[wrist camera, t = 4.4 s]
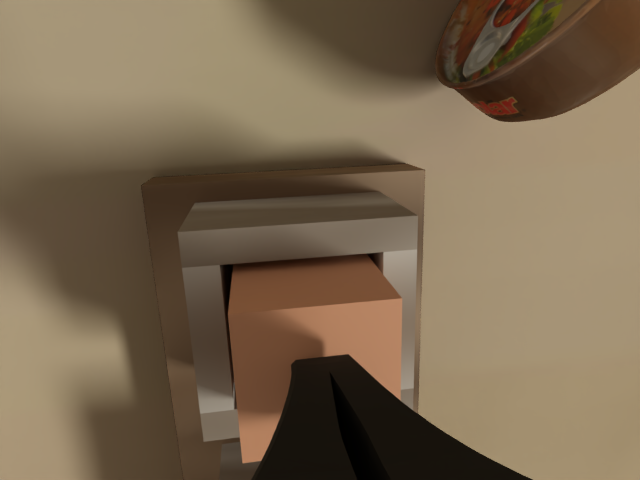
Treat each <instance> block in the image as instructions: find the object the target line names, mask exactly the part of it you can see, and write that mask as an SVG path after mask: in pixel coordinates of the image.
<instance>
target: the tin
mask: <svg viewBox="0 0 640 480" xmlns="http://www.w3.org/2000/svg"><path fill="white" fill-rule="evenodd" d="M435 69H436V75H437V77H438V79H439V80H440V82H441V83H442V84H444V85H445V86H447V87H449V88H453V89H455V90H456V91H457V92H458V93H460V94H461V95H462V96H463V97H464V98H466V99H467V100H468V101H469V102H470V103H471V104H473V105H474V106H475V107H476V108H478V109H479V110H480V111H482V112H483V113H485V114H486V115H488V116H489V117H491V118H493V119H496V120H499V121H504V122H521V121H529V120H537V119H545V118H549V117H553V116H557V115H560V114H563V113H565V112H567V111H570V110H572V109H574V108H576V107H579V106H581V105H583V104H585V103H587V102H589V101H590V100H592V99H594V98H595V97H597V96H599V95H601V94H602V93H604V92H606V91H607V90H609V89H610V88H612V87H614V86H615V85H617V84H618V83H620V82H621V81H623V80H624V79H626V78H627V77H628V76H630V75H631V74H633V73H634V72H635V71H637V70H638V69H640V0H461V1H460V2H459V4H458V6H457V7H456V9H455V11H454V13H453V14H452V16H451V19H450V21H449V23H448V25H447V27H446V29H445V31H444V33H443V36H442V38H441V41H440V44H439V47H438V50H437V54H436V61H435Z"/></svg>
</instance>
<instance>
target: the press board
mask: <svg viewBox="0 0 640 480" xmlns="http://www.w3.org/2000/svg"><path fill="white" fill-rule="evenodd" d="M141 189H142V196H143V203H144V210H145V216H146V223H147V230H148V237H149V244H150V251H151V258H152V265H153V272H154V279H155V286H156V293H157V300H158V307H159V314H160V321H161V328H162V335H163V342H164V349H165V356H166V363H167V370H168V377H169V384H170V391H171V398H172V405H173V411H174V418H175V425H176V432H177V439H178V446H179V453H180V460H181V467H182V474H183V480H251V479H252V477H253V475H254V474H255V472H256V470H257V468H258V466H259V464H260V462H261V461H257V462H249V463H242V453H241V443H240V432H239V422H238V412H237V402H236V392H235V382H234V371H233V361H232V351H231V341H230V331H229V321H228V309H229V300H230V290H231V281H232V272H233V264H238V263H251V262H264V261H277V260H289V259H302V258H315V257H327V256H340V255H353V254H367V255H368V256H369V258H370V259H371V260H372V261H373V263H374V264H375V265H376V266H377V268H378V269H379V270H380V271H381V273H382V274H383V275H384V276H385V277H386V279H387V280H388V281H389V282H390V284H391V285H392V286H393V287H394V289H395V290H396V291H397V292H398V294H399V295H400V296H401V297H402V346H401V401H402V402H403V403H404V404H405V405H407V406H408V407H409V408H411V409H412V410H413V411H415V412H416V413H417V414H418V397H419V363H420V329H421V294H422V260H423V226H424V191H425V170H424V169H421V168H418V167H415V166H412V165H409V164H394V165H375V166H356V167H338V168H319V169H300V170H281V171H263V172H244V173H225V174H206V175H188V176H169V177H153V178H151V179H150V180H148V181H147V182H146V183H144V184H143V185H141Z"/></svg>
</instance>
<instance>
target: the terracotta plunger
mask: <svg viewBox="0 0 640 480" xmlns="http://www.w3.org/2000/svg"><path fill="white" fill-rule="evenodd" d="M228 321H229V331H230V341H231V351H232V361H233V371H234V382H235V392H236V402H237V412H238V422H239V432H240V443H241V453H242V463H249V462H257V461H261V460H262V458H263V456H264V454H265V452H266V450H267V448H268V446H269V444H270V441H271V439H272V437H273V434H274V432H275V429H276V427H277V424H278V422H279V419H280V417H281V414H282V411H283V408H284V404H285V401H286V398H287V395H288V390H289V386H290V381H291V364H292V363H293V362H294V361H295V360H298V359H307V358H317V357H326V356H335V355H345V354H349V355H350V356H351V357H352V358H353V359H354V360H356V361H357V362H358V363H359V364H360V365H361V366H362V367H363V368H364V369H365V370H366V371H367V372H368V373H369V374H371V375H372V376H373V377H374V378H375V379H376V380H377V381H378V382H379V383H380V384H382V385H383V386H384V387H385V388H386V389H387V390H388V391H390V392H391V393H392V394H393V395H394V396H396V397H397V398H398V399H399V400H400V401H401V346H402V297H401V296H400V295H399V294H398V292H397V291H396V290H395V289H394V287H393V286H392V285H391V284H390V282H389V281H388V280H387V279H386V277H385V276H384V275H383V274H382V273H381V271H380V270H379V269H378V268H377V266H376V265H375V264H374V263H373V261H372V260H371V259H370V258H369V256H368V255H367V254H353V255H340V256H327V257H315V258H302V259H289V260H277V261H264V262H251V263H238V264H233V272H232V281H231V290H230V300H229V309H228Z"/></svg>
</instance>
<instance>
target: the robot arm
mask: <svg viewBox="0 0 640 480" xmlns="http://www.w3.org/2000/svg"><path fill="white" fill-rule="evenodd" d="M251 480H532V479H530V478H528V477H526V476H523V475H521V474H519V473H517V472H515V471H513V470H511V469H509V468H507V467H505V466H503V465H501V464H499V463H497V462H495V461H493V460H491V459H489V458H487V457H486V456H484V455H482V454H480V453H478V452H476V451H475V450H473V449H471V448H469V447H468V446H466V445H464V444H463V443H461V442H459V441H458V440H456V439H455V438H453V437H451V436H450V435H448V434H446V433H445V432H443V431H442V430H440V429H439V428H437V427H436V426H434V425H433V424H431V423H430V422H428V421H427V420H426V419H424V418H423V417H422V416H420V415H419V414H417V413H416V412H415V411H413V410H412V409H411V408H409V407H408V406H407V405H405V404H404V403H403V402H402V401H400V400H399V399H398V398H397V397H396V396H394V395H393V394H392V393H391V392H390V391H388V390H387V389H386V388H385V387H384V386H383V385H382V384H380V383H379V382H378V381H377V380H376V379H375V378H374V377H373V376H372V375H371V374H369V373H368V372H367V371H366V370H365V369H364V368H363V367H362V366H361V365H360V364H359V363H358V362H357V361H356V360H354V359H353V358H352V357H351V356H350V355H349V354H345V355H335V356H326V357H317V358H307V359H298V360H295V361H294V362H293V363H292V364H291V381H290V386H289V390H288V395H287V398H286V401H285V404H284V408H283V411H282V414H281V417H280V419H279V422H278V424H277V427H276V429H275V432H274V434H273V437H272V439H271V441H270V444H269V446H268V448H267V450H266V452H265V454H264V456H263V458H262V460H261V462H260V464H259V466H258V468H257V470H256V472H255V474H254V475H253V477H252V479H251Z"/></svg>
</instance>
